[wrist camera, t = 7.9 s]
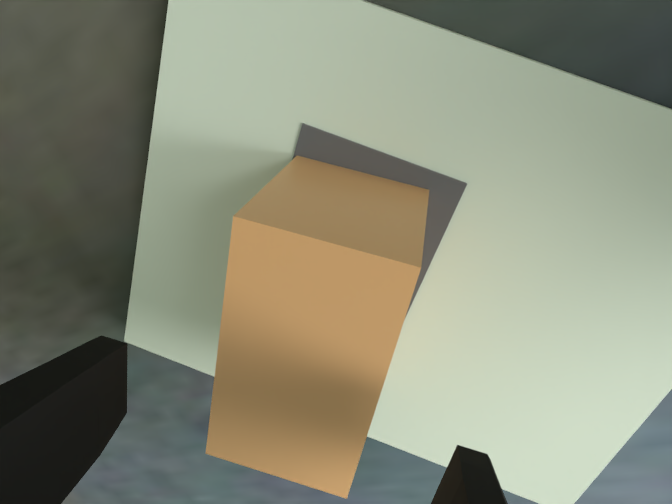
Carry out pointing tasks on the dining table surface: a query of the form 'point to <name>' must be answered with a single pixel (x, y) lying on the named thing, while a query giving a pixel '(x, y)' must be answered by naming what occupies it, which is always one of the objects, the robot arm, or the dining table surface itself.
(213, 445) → the block
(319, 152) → the board
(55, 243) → the dining table surface
